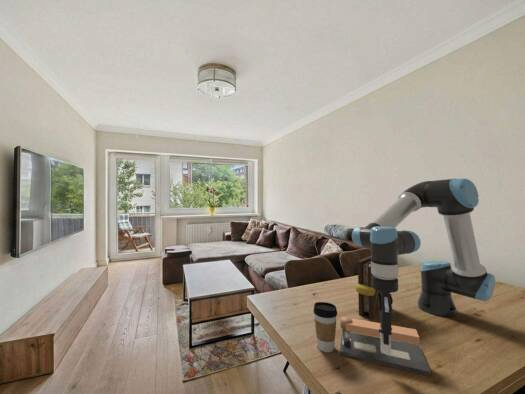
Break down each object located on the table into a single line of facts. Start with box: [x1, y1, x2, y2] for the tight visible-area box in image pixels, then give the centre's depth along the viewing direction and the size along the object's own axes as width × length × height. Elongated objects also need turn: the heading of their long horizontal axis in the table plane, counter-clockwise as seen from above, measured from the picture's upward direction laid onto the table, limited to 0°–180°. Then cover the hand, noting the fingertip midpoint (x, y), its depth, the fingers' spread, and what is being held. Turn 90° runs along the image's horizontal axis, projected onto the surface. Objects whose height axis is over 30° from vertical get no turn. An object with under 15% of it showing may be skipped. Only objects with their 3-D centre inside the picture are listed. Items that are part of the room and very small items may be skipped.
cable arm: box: [339, 316, 421, 346], centre depth 80 cm, size 24×5×3 cm, turn 67°
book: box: [355, 255, 380, 320], centre depth 112 cm, size 22×8×25 cm, turn 134°
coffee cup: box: [313, 301, 338, 353], centre depth 84 cm, size 8×8×15 cm
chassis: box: [339, 328, 431, 377], centre depth 81 cm, size 26×14×7 cm, turn 67°
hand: (385, 352), depth 72 cm, fingers closed
